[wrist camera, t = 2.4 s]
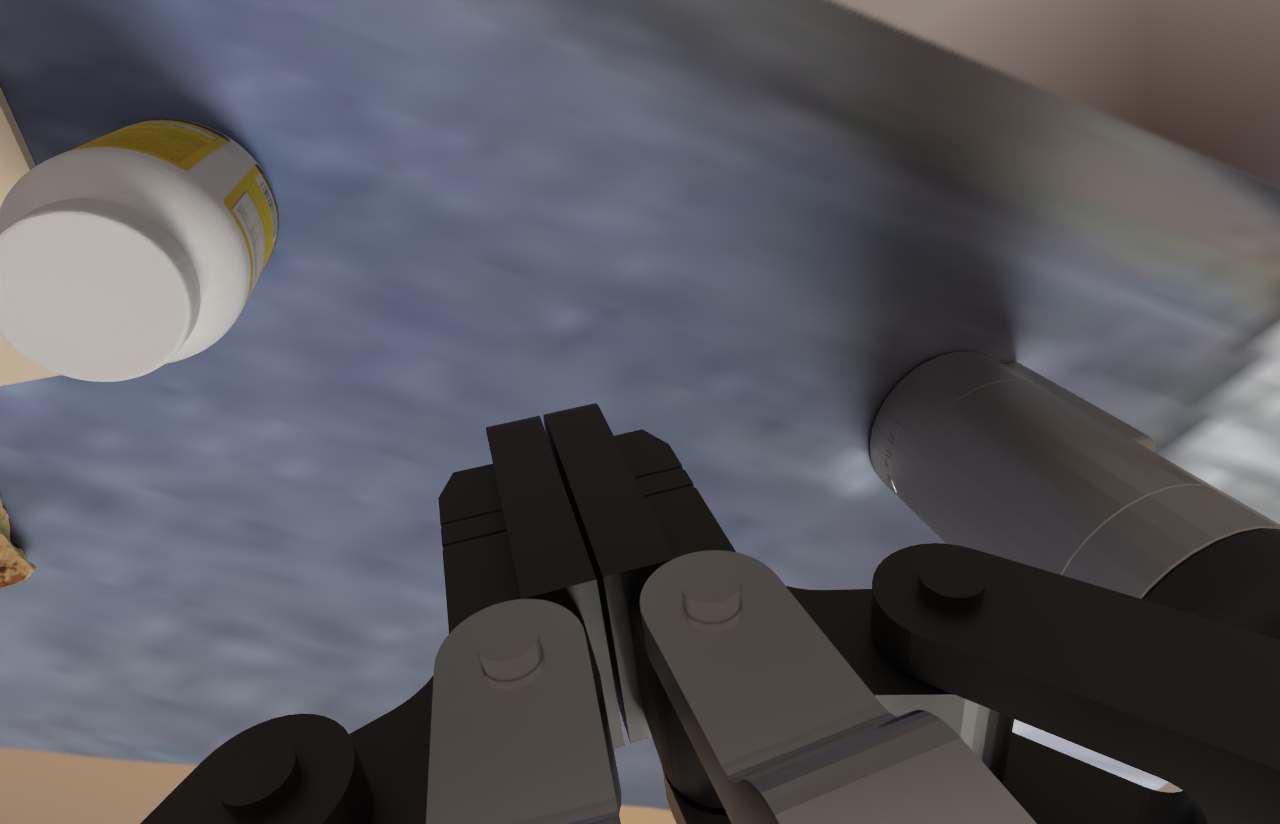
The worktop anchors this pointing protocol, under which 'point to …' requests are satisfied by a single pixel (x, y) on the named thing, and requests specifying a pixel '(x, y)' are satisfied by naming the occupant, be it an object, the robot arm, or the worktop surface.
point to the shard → (11, 556)
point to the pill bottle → (133, 249)
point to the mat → (3, 164)
